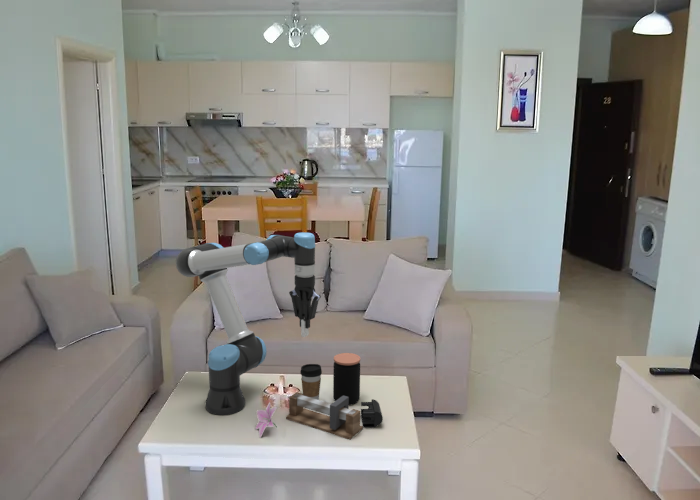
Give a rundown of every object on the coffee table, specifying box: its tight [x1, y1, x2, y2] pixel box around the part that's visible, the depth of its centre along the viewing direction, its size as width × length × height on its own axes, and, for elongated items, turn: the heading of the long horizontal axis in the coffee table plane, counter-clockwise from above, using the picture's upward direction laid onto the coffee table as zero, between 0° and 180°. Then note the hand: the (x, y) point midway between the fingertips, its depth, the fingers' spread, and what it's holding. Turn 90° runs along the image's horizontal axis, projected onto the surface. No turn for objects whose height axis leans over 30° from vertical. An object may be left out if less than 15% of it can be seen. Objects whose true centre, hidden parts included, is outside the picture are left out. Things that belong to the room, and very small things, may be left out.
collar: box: [330, 395, 350, 430], centre depth 218 cm, size 2×9×9 cm, turn 149°
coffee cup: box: [299, 363, 323, 400], centre depth 238 cm, size 8×8×15 cm
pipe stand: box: [285, 391, 364, 441], centre depth 222 cm, size 28×9×8 cm, turn 59°
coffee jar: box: [332, 352, 361, 406], centre depth 240 cm, size 11×11×18 cm
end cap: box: [360, 399, 384, 429], centre depth 224 cm, size 10×7×7 cm
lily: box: [254, 401, 278, 439], centre depth 217 cm, size 12×12×10 cm
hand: (304, 335), depth 226 cm, fingers closed
